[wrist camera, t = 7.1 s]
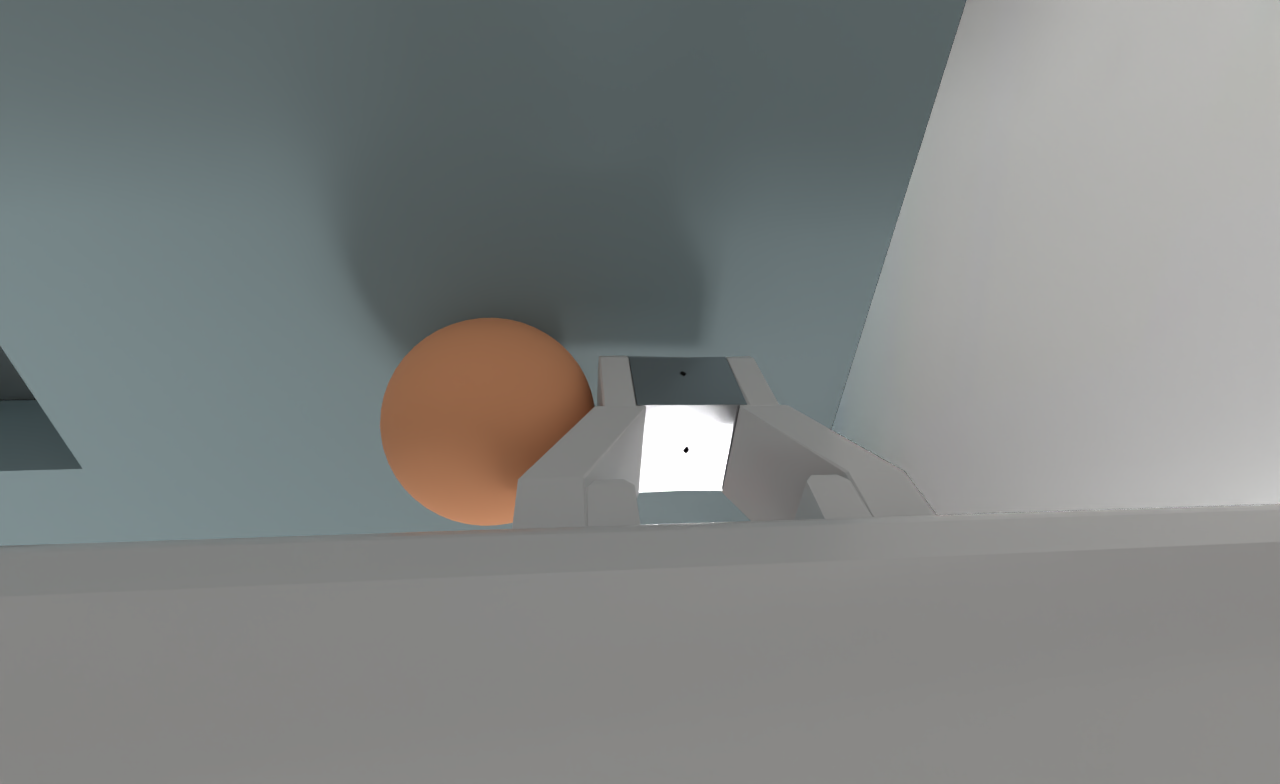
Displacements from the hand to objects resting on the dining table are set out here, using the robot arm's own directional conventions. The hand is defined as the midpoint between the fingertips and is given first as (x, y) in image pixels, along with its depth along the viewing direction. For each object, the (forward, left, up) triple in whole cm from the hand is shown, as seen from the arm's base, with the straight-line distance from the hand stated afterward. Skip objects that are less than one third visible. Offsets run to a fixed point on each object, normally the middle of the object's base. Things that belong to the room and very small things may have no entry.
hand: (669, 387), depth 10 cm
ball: (+3, 0, +1) cm, 3 cm away
